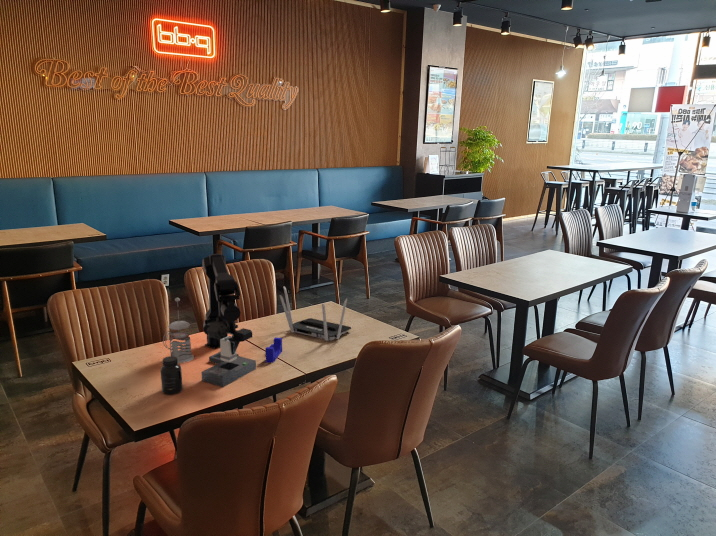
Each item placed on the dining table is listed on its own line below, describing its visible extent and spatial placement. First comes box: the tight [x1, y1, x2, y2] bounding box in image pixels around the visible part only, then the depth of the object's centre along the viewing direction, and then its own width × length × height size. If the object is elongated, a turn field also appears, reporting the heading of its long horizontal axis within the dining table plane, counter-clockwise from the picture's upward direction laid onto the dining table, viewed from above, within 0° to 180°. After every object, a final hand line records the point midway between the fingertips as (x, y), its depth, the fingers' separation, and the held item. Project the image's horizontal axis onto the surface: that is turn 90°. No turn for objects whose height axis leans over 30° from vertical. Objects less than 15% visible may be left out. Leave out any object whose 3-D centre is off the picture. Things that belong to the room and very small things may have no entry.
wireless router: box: [278, 286, 352, 342], centre depth 245 cm, size 34×23×20 cm
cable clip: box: [264, 337, 283, 364], centre depth 222 cm, size 12×4×6 cm, turn 170°
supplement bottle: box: [159, 355, 184, 396], centre depth 191 cm, size 7×7×12 cm
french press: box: [162, 297, 195, 364], centre depth 216 cm, size 10×12×25 cm
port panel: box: [201, 356, 257, 388], centre depth 205 cm, size 10×18×4 cm, turn 151°
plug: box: [219, 335, 238, 362], centre depth 203 cm, size 4×4×9 cm
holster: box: [208, 350, 239, 365], centre depth 218 cm, size 8×8×2 cm
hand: (228, 353), depth 204 cm, fingers closed on plug, 4 cm apart
